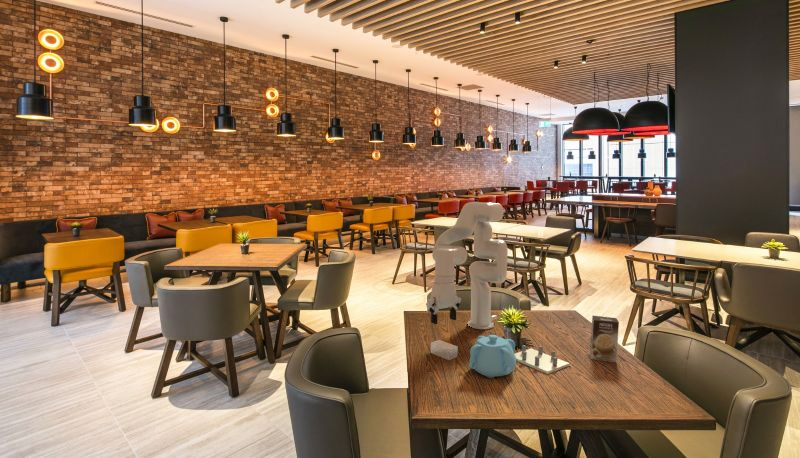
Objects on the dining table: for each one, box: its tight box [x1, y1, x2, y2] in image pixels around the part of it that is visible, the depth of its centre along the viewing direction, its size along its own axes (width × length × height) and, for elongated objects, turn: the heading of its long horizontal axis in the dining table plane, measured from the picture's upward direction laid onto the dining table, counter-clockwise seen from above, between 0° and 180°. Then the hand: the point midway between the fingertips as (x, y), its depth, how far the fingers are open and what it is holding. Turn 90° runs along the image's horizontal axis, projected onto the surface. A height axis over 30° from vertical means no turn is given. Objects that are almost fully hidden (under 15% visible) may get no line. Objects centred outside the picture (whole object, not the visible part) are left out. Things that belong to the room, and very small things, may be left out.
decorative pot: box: [468, 334, 517, 379], centre depth 159 cm, size 16×16×14 cm
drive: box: [430, 339, 459, 361], centre depth 175 cm, size 5×10×4 cm, turn 42°
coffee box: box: [589, 315, 620, 363], centre depth 171 cm, size 9×6×16 cm
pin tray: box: [514, 344, 570, 375], centre depth 168 cm, size 13×18×4 cm
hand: (443, 321), depth 173 cm, fingers open, 9 cm apart
